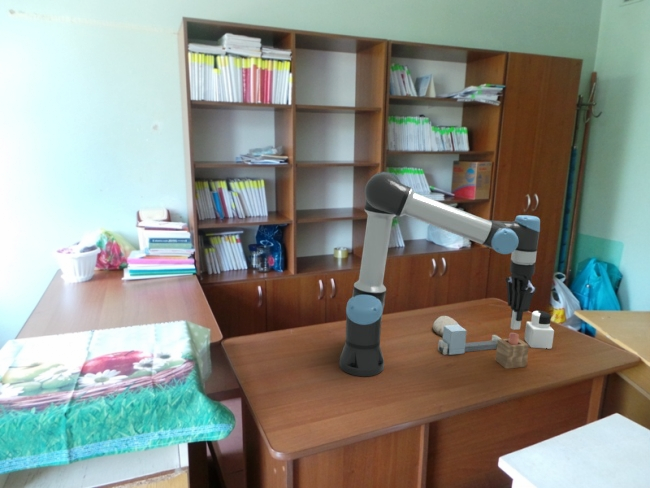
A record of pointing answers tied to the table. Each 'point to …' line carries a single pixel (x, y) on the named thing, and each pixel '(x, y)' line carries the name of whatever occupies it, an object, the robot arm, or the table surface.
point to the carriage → (455, 338)
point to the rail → (471, 345)
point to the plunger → (513, 338)
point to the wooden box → (511, 354)
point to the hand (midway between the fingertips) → (515, 328)
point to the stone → (443, 324)
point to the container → (539, 330)
